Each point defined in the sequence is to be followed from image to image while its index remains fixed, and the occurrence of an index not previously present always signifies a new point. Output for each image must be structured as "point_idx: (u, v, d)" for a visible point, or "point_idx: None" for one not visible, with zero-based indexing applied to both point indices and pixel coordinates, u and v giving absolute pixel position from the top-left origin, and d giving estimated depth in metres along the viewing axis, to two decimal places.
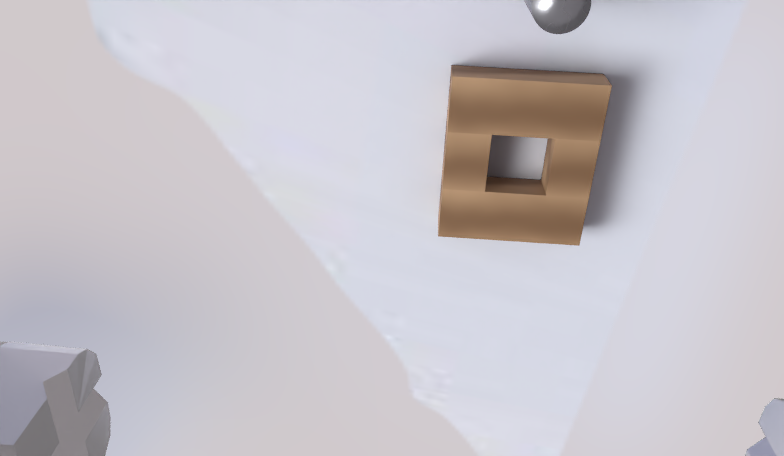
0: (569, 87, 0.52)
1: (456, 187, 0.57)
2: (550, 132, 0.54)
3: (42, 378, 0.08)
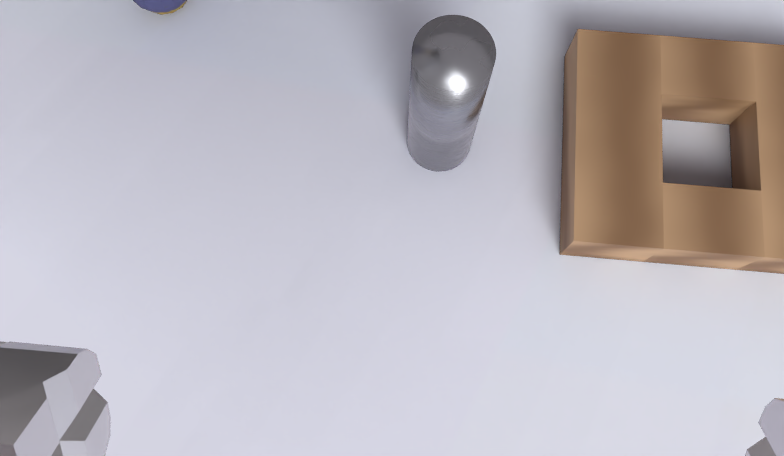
0: (583, 81, 0.37)
1: (759, 234, 0.35)
2: (652, 101, 0.37)
3: (42, 378, 0.08)
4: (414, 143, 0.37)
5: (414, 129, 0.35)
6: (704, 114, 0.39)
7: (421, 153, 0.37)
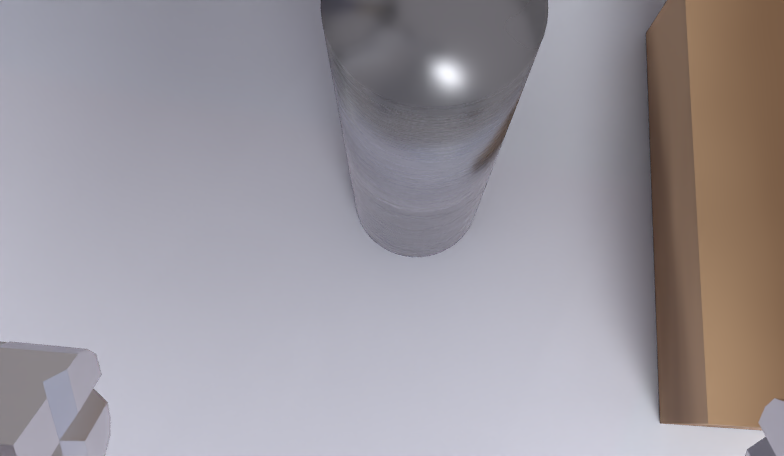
0: (702, 76, 0.18)
1: None
2: None
3: (42, 378, 0.08)
4: (364, 210, 0.18)
5: (358, 186, 0.16)
6: None
7: (379, 229, 0.18)
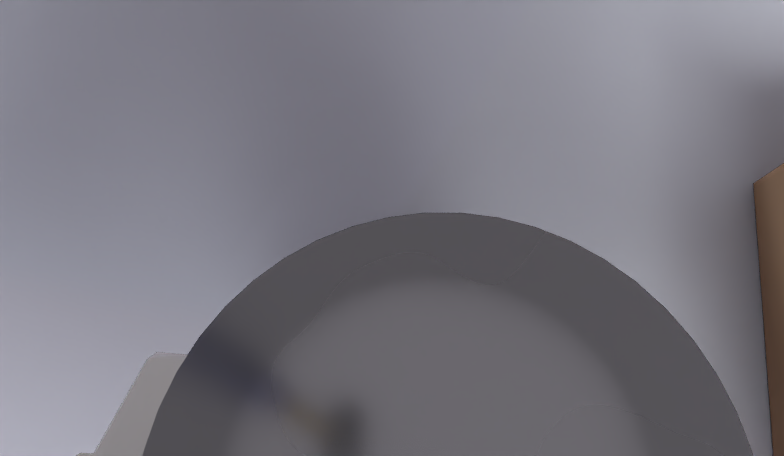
0: None
1: None
2: None
3: None
4: None
5: None
6: None
7: None
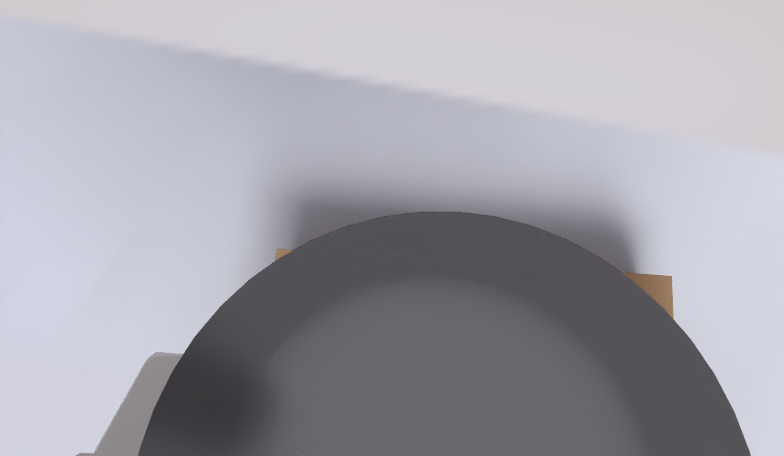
0: None
1: None
2: None
3: None
4: None
5: None
6: None
7: None
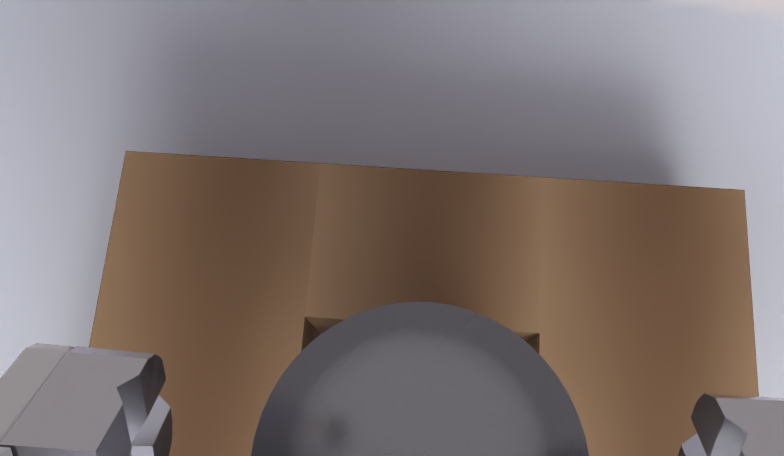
0: (115, 285, 0.15)
1: None
2: (279, 336, 0.15)
3: (115, 383, 0.07)
4: None
5: None
6: None
7: None
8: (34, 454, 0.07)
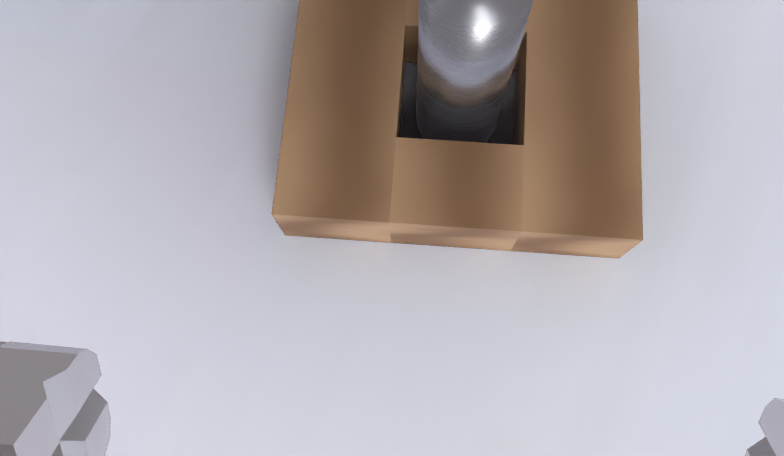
0: (306, 11, 0.29)
1: (516, 202, 0.26)
2: (392, 34, 0.28)
3: (42, 378, 0.08)
4: (425, 116, 0.28)
5: (425, 95, 0.27)
6: None
7: (434, 129, 0.28)
8: None
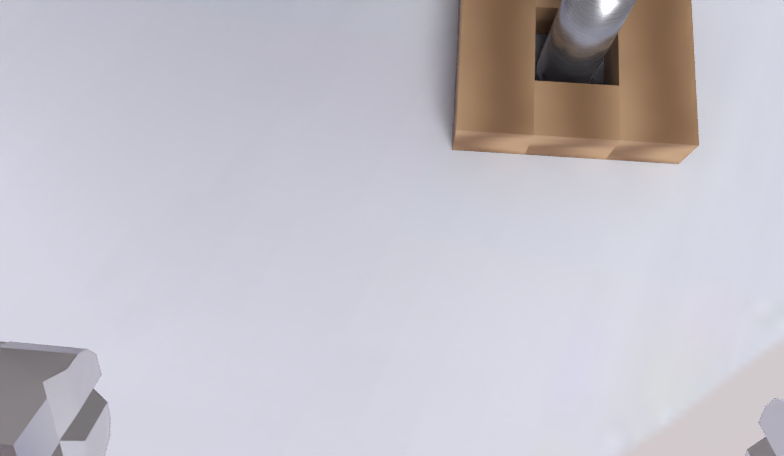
0: None
1: (616, 121, 0.40)
2: (527, 13, 0.42)
3: (42, 378, 0.08)
4: (550, 67, 0.42)
5: (555, 52, 0.40)
6: None
7: (555, 77, 0.42)
8: None
